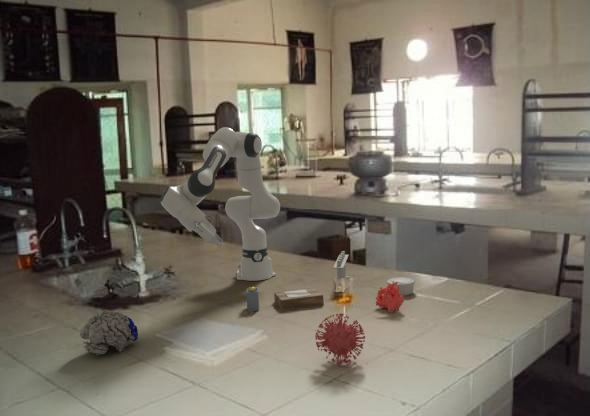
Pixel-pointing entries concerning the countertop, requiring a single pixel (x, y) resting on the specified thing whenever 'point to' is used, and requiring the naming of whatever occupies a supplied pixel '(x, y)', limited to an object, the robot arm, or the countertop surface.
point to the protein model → (390, 297)
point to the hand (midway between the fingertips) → (221, 244)
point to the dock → (298, 298)
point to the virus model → (340, 338)
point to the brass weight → (252, 289)
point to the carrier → (252, 300)
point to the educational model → (108, 332)
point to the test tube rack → (341, 265)
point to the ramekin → (403, 285)
